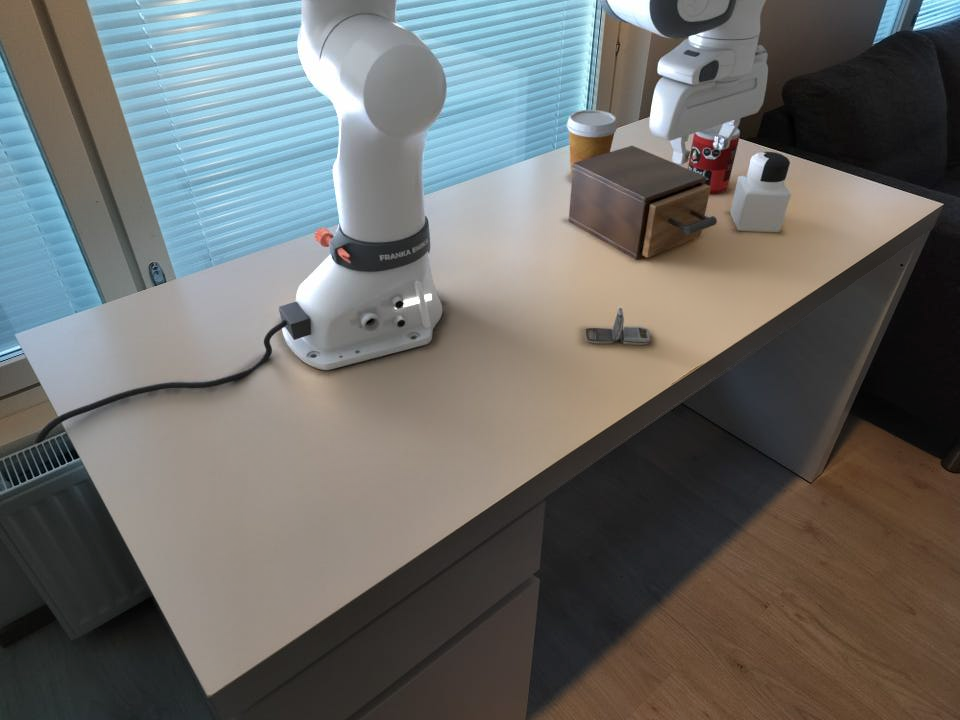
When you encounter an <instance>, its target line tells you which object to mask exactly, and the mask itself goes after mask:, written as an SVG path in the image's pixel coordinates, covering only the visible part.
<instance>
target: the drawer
mask: <svg viewBox="0 0 960 720" xmlns="http://www.w3.org/2000/svg"><path fill="white" fill-rule="evenodd" d="M710 189H711V186H708V185H706V184H704V185H702V186H699V187H696V188H695V185H693V186H690V187H688V188H685V189H682V190H679V191H676V192H673V193H671V194H668V195H665V196H662V197H659V198H657V199H654V200H651V201H648V207H647V213H646V220H645V226H644V232H643V239H642V245H641V248H642V247H643V253H642V255H643V256H644V257H645V258H651V257H653V256H655V255H657V254H660V253H663V252H666V251H668V250H671V249H673V248H675V247H677V246H680V245H682V244H685V243H687V242H690V241H692V240H694V239H698V238H699V237H701V234H702V231H703V230H706V229H709V228H711V227H713V226H716V225H717V223H718V219H717V218H716V216H713V215H711V216H707V215H706V212H707V207H708V202H709V198H710V195H711V194H710Z"/></svg>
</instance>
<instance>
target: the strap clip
mask: <svg viewBox="0 0 960 720" xmlns="http://www.w3.org/2000/svg"><path fill="white" fill-rule="evenodd" d="M624 323H625V317H624V312H623V308H622V307H619V308H618V309H617V313H616V317H615V320H614V324H613V326H612V328H601V327H589V328H585V339H586V341H587V342H588V343H592V344H595V345H596V344H597V345H598V344H599V345H600V344H603V345H604V344H614V342H616V341H619V339H620V343H623V345H634V346H644V345H648V344H651V343H650V342H651V336H650V331H649V329H648V328H647V327H642V326H624ZM589 333H594V336H595V337H594V338H590V337H589ZM642 334H644V335H645V337H642V336H641V335H642Z"/></svg>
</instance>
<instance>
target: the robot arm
mask: <svg viewBox="0 0 960 720" xmlns="http://www.w3.org/2000/svg"><path fill="white" fill-rule="evenodd" d="M397 1H398V0H301V25H300V27H299V31H298V35H297V43H296V45H297V54H298V57H299V60H300V63H301V65H302V68H303V70H304V72H305V75H306V77H307V78H308V80H309V82H310V83H311V84H312V86H313V88H315V89H316V90H317V91H318V92H319V93H320V94H322V95H323V97H325V98H327V100H329V101H330V102H331V103H332V105H333V107H334V109H335V112H336V116H337V120H338V131H339V132H338V147H337V157H336V159H335V161H334V162H333V166H332V178H333V179H332V180H333V185H334V191H335V192H334V193H335V198H336V199H335V200H336V205H337V213H338V219H339V222H338V225H337V228H336V230H335V233H334V234H333V233H332V232H330V231H329V230H328V229H327V228H325V227H320V228H318V229H317V230H315V233H314V239H315V241H316V242H317V243H319V244H320V245H321V246H322V247H324V248H328V247H329V252H330V253H329V255H327V257H326V258H325V259H324V260H323V261H322V262H321V263H320V264H319V265H318V266H317V267H316V269H315V270H314V271H313V272H311V273H310V275H309V276H307V277H306V279H305V280H304V281H302V283H300V285H299V286H298V288H297V291H296V294H295V301H293V302H290V303H287V304H283V305H280V306H278V311H279V316H280V320H281V321H280V322H279V323H278V324H276V325H274V326H273V327H272V328H271V329H270V330H268V331H267V333H266V334H265V336H264V338H263V345H264V348H265V352H264V354H263V355H262V357H261V358H260V359H259V361H258V362H256V363H255V364H254V365H252V366H251V367H249V368H247V369H245V370H242V371H240V372H237V373H234V374H230V375H226V376H223V377H220V378H217V379H212V380H206V381H169V382H160V383H155V384H150V385H145V386H140V387H137V388H132V389H129V390H125V391H122V392H119V393H116V394H113V395H110V396H107V397H105V398H102V399H100V400H97V401H94V402H92V403H89V404H87V405H83V406H80V407H78V408H74V409H72V410H70V411H67V412H64V413H62V414H61V415H59V416H57V417H55V418H53V419H52V420H51V421H49V422H48V423H47V424H45V426H43V428H42V429H41V430H40V432H39V433H38V435H37V436H36V438H35V440H34V444H40V443H42V442H43V441H44V440H45V439H46V437H47V436H48V435H49V434H50V433H51V431H53V429H55V428H56V427H58V426H59V425H60V424H61V423H63V422H65V421H67V420H70V419H72V418H74V417H76V416H79V415H82V414H85V413H88V412H91V411H94V410H96V409H98V408H102V407H104V406H107V405H109V404H112V403H114V402H117V401H119V400H123V399H126V398H130V397H134V396H137V395H141V394H146V393H151V392H155V391H160V390H167V389H206V388H213V387H217V386H220V385H224V384H227V383H231V382H234V381H237V380H241V379H242V378H245V377H247V376H249V375H250V374H251V373H252V372H254V371H255V370H256V369H258V368H260V367H261V366H263V364H265V363H266V362H268V360H269V359H270V357H271V355H272V354H273V346H272V345H271V339H272V338H273V336H274V335H275V334H277V333H278V332H279V331H281V330H282V336H283V339H284V341H285V343H286V345H287V346H288V348H289V349H290V350H291V352H292V353H293V354H294V355H295V356H296V357H297V358H298V359H299V360H300V361H302V362H304V363H305V364H306V365H309V366H310V367H313V368H315V369H318V370H322V371H329V370H335V369H338V368H342V367H345V366H350V365H354V364H357V363H361V362H365V361H368V360H372V359H373V360H374V359H376V358H380V357H384V356H388V355H391V354H395V353H399V352H403V351H406V350H411V349H414V348H418V347H422V346H426V345H428V344H430V343H431V341H432V340H433V333H434V332H433V330H434V328H435V327H436V326H437V324H438V323H439V322H440V320H441V318H442V315H443V305H442V303H441V300H440V297H439V294H438V292H437V289H436V285H435V281H434V278H433V273H432V267H431V261H430V256H429V254H430V252H431V233H430V223H429V219H428V217H427V216H426V210H425V209H426V208H425V191H424V190H425V189H424V171H423V170H424V157H425V150H426V144H427V140H428V135H429V130H430V128H431V127H432V126H433V125H434V123H436V121H437V120H438V119H439V117H440V115H441V113H442V111H443V108H444V105H445V103H446V97H447V88H448V87H447V78H446V74H445V71H444V68H443V66H442V64H441V62H440V60H439V59H438V58H437V57H436V55H435V54H434V52H433V51H432V50H431V48H429V46H428V45H427V44H426V43H425V42H424V40H422V39H421V38H420V37H419V36H418V35H417V34H416V33H414V32H413V31H411V30H409V29H407V28H405V27H403V26H402V25H400V24H398V22H397ZM598 1H599V3H600V5H601V8H602V10H603V11H604V12H605V13H606V14H607V15H608V17H610V18H611V19H613V20H615V21H618V22H621V23H624V24H629V25H633V26H636V27H638V28H640V29H642V30H645V31H647V32H650V33H652V34H655V35H658V36H660V37H663V38H667V39H675V40H677V39H684V40H683V41H681V43H680V44H678V45H677V46H676V47H674V48H673V49H671V51H669V52H668V53H666V54H665V55H662V56H661V58H660V59H659V61H658V62H657V74H658V75H659V76H662V77H661V78H659V80H658V81H657V83H656V85H655V88H654V91H653V95H652V102H651V107H650V115H649V130H650V132H651V133H652V136H655V137H657V138H659V139H661V140H665V141H668V142H670V145H671V147H672V150H673V153H672V157H671V160H672V162H673V163H675V164H677V165H680V166H681V165H683V164H686V163H689V158H690V153H691V150H688V149H687V148H686V143H687V142H689V141H688V140H689V136H690V135H692V134H693V135H694V133H696V132H699V131H702V130H705V129H708V128H711V127H715V126H718V125H721V124H723V126H722V128H721V130H720V132H719V135H717V136H715V138H714V143H713V147H714V148H715V149H718V150H723V149H726V148H728V147H729V144H730V139H731V137H732V135H733V134H734V132H735V131H736V129H737V128H738V127H739V125H740V122H741V119H742V118H746V117H749V116H751V115H756V114H757V113H758V112H759V111H760V110H761V108H762V106H763V105H764V101H765V96H766V90H767V84H768V75H769V66H768V64H767V61H768V57H769V56H768V52H767V50H766V48H765V47H764V46H763V44H762V45H761V44H758V43H759V40H760V39H759V38H760V34H761V14H762V10H763V9H764V8H763V7H764V5H765V4H766V2H767V0H598Z"/></svg>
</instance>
